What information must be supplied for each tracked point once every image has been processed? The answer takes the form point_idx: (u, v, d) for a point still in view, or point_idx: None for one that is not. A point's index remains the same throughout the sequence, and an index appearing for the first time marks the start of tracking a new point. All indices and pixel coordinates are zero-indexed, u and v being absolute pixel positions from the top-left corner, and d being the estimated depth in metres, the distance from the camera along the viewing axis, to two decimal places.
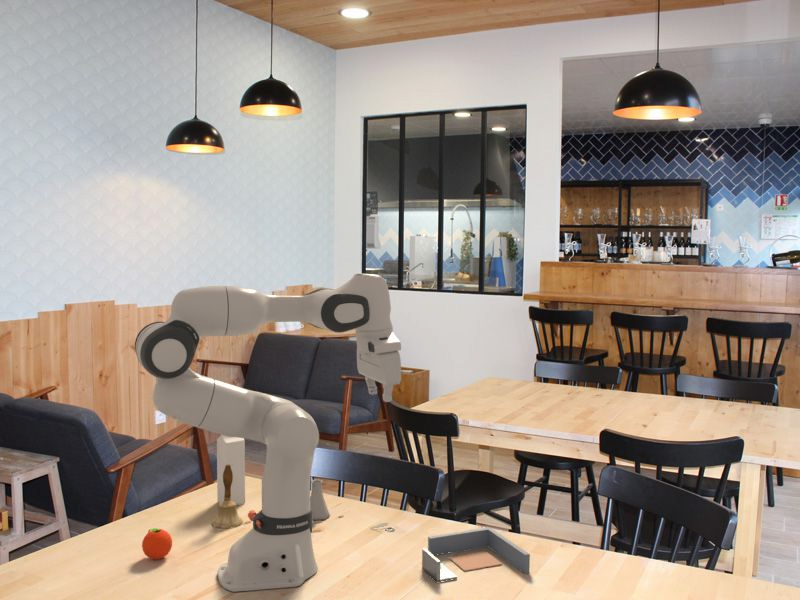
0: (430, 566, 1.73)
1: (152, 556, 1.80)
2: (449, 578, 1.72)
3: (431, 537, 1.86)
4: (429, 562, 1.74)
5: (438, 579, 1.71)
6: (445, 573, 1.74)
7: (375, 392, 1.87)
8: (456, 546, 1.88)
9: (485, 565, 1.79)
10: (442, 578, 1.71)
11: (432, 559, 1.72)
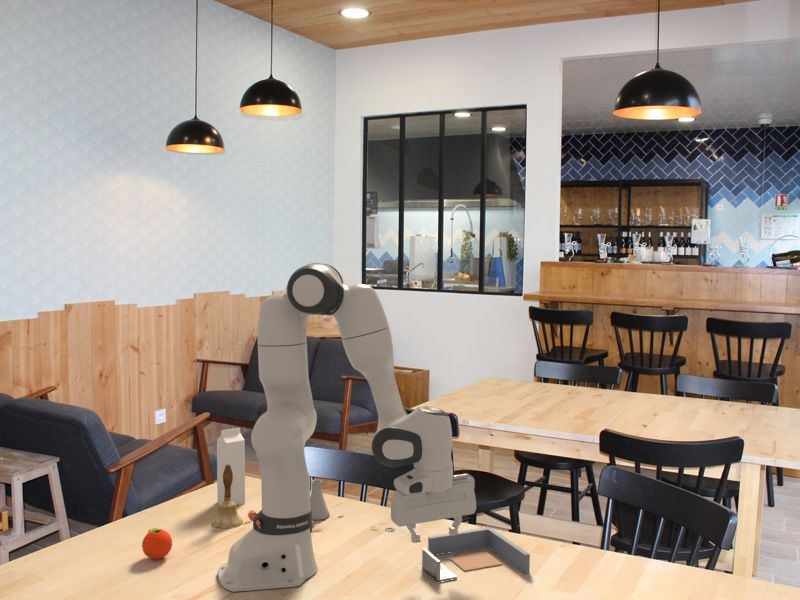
0: (430, 566, 1.73)
1: (152, 556, 1.80)
2: (449, 578, 1.72)
3: (431, 537, 1.86)
4: (429, 562, 1.74)
5: (438, 579, 1.71)
6: (445, 573, 1.74)
7: (451, 533, 1.75)
8: (456, 546, 1.88)
9: (485, 565, 1.79)
10: (442, 578, 1.71)
11: (432, 559, 1.72)
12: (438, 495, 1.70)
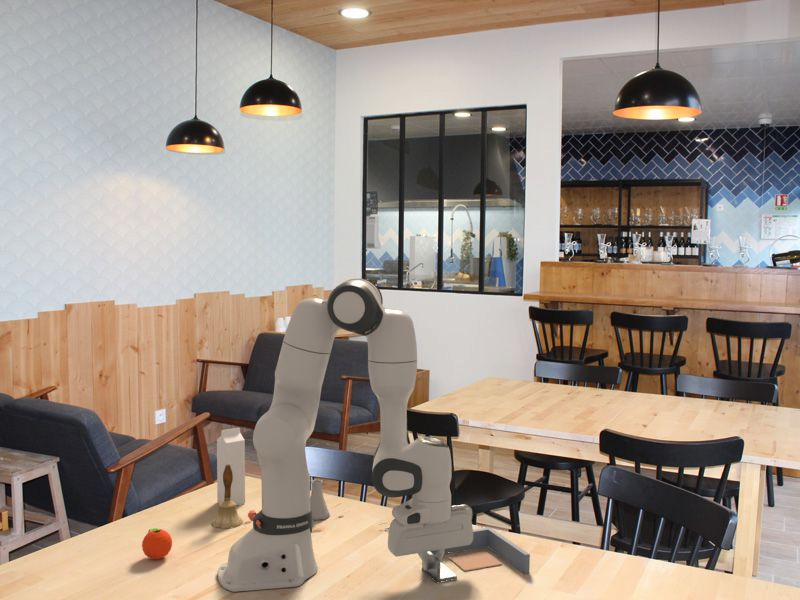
0: None
1: (152, 556, 1.80)
2: (449, 577, 1.72)
3: None
4: None
5: (438, 579, 1.71)
6: (445, 572, 1.74)
7: None
8: None
9: (485, 565, 1.79)
10: (442, 577, 1.71)
11: (432, 558, 1.72)
12: (436, 526, 1.70)
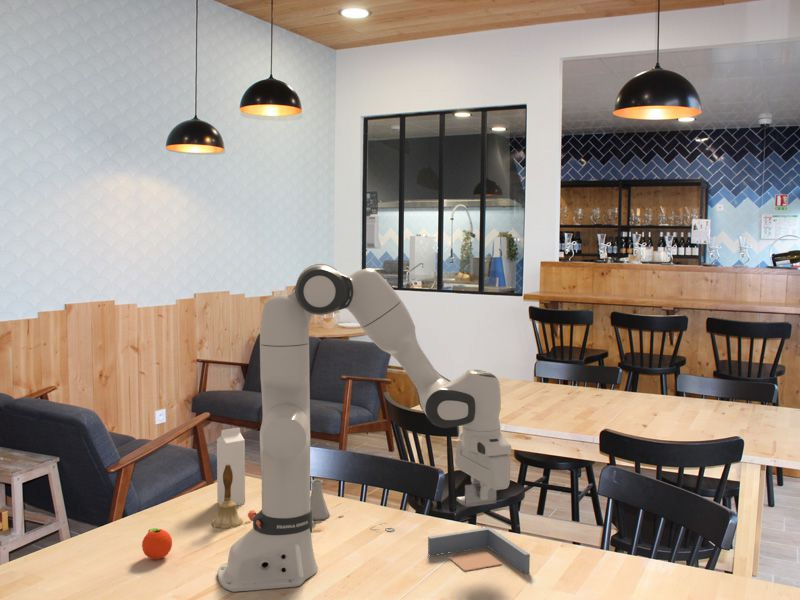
0: None
1: (152, 556, 1.80)
2: None
3: (431, 537, 1.86)
4: None
5: None
6: None
7: None
8: (456, 546, 1.88)
9: (485, 565, 1.79)
10: None
11: None
12: None
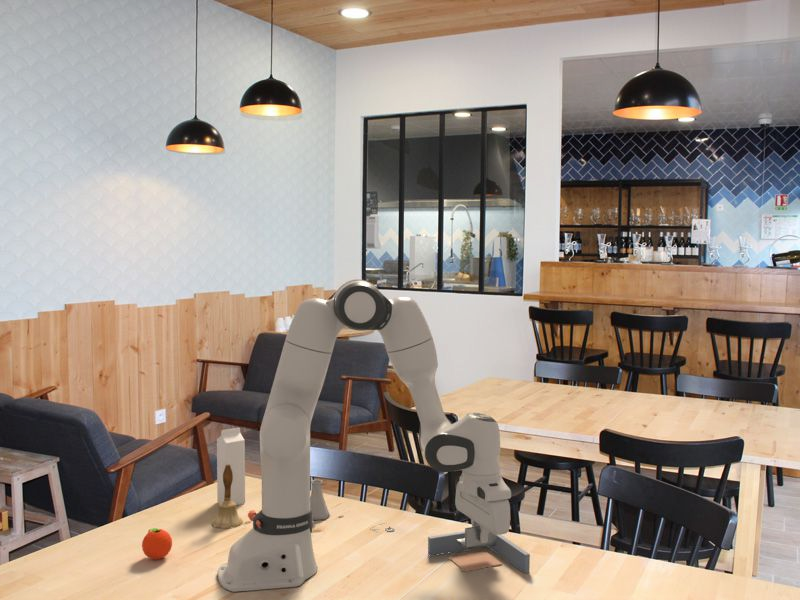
0: None
1: (152, 556, 1.80)
2: None
3: (431, 537, 1.86)
4: None
5: None
6: None
7: None
8: (456, 546, 1.88)
9: (485, 565, 1.79)
10: None
11: None
12: None
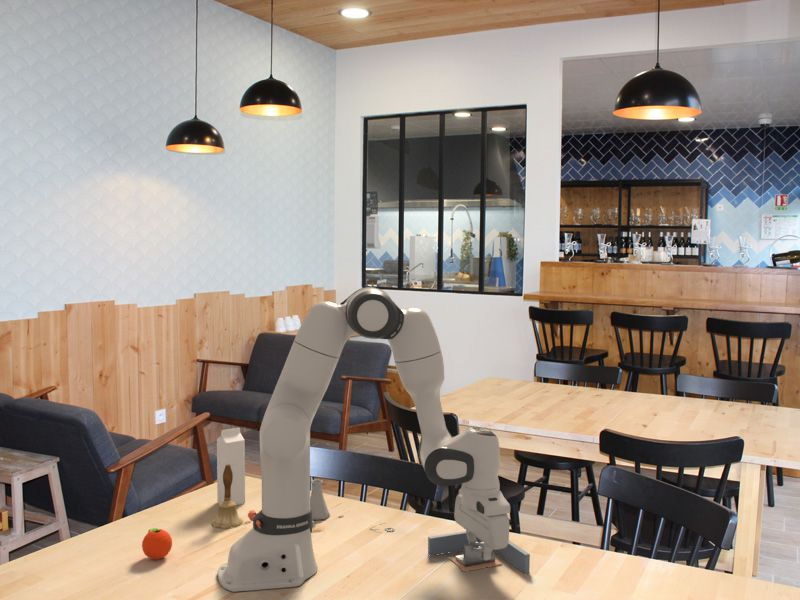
0: None
1: (152, 556, 1.80)
2: None
3: (431, 537, 1.86)
4: (480, 551, 1.80)
5: None
6: None
7: None
8: (456, 546, 1.88)
9: (485, 565, 1.79)
10: None
11: None
12: None
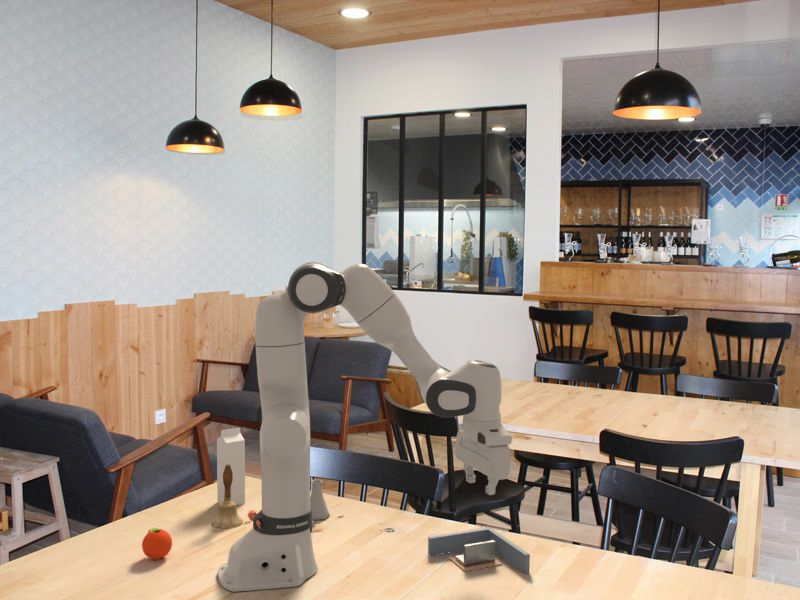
0: (482, 553, 1.80)
1: (152, 556, 1.80)
2: None
3: (431, 537, 1.86)
4: (480, 551, 1.80)
5: None
6: None
7: (473, 481, 1.83)
8: (456, 546, 1.88)
9: (485, 565, 1.79)
10: None
11: (486, 544, 1.80)
12: None
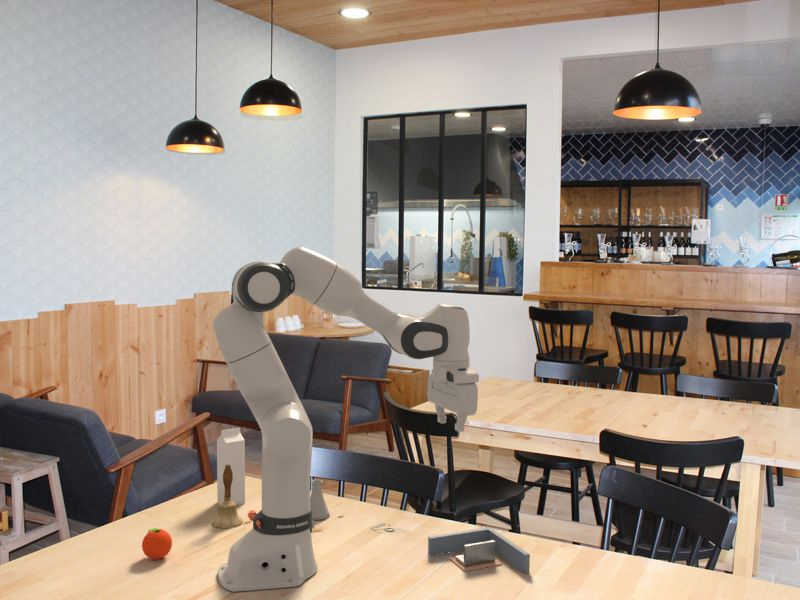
0: (482, 553, 1.80)
1: (152, 556, 1.80)
2: None
3: (431, 537, 1.86)
4: (480, 551, 1.80)
5: None
6: None
7: (444, 421, 1.90)
8: (456, 546, 1.88)
9: (485, 565, 1.79)
10: None
11: (486, 544, 1.80)
12: None
